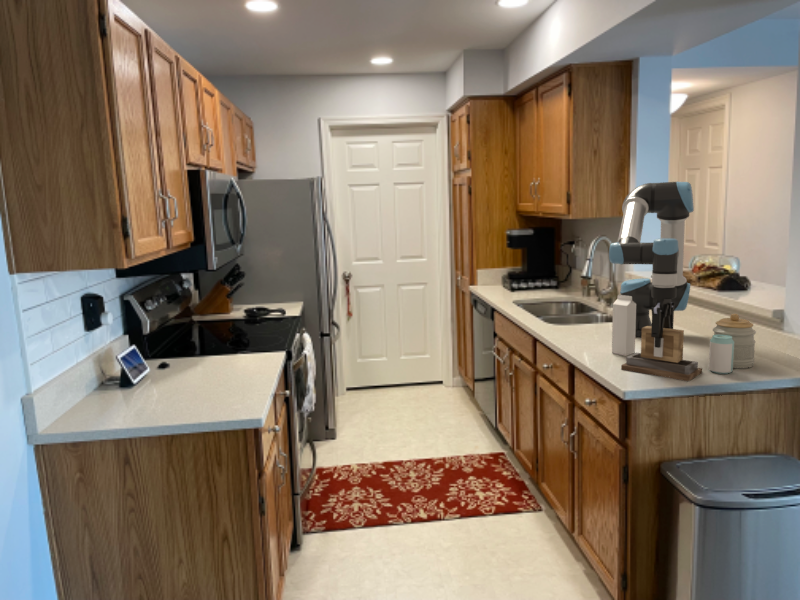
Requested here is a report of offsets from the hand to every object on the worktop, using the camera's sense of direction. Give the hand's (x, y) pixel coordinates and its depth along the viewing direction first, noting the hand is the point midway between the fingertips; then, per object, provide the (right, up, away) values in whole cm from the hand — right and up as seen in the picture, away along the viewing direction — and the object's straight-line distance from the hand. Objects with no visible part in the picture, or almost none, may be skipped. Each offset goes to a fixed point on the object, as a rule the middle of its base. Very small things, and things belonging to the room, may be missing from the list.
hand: (661, 354), depth 198 cm
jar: (+27, -4, +6) cm, 28 cm away
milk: (-3, -2, +25) cm, 26 cm away
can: (+19, -6, -2) cm, 19 cm away
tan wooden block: (0, -1, 0) cm, 1 cm away
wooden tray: (0, -6, +1) cm, 6 cm away
